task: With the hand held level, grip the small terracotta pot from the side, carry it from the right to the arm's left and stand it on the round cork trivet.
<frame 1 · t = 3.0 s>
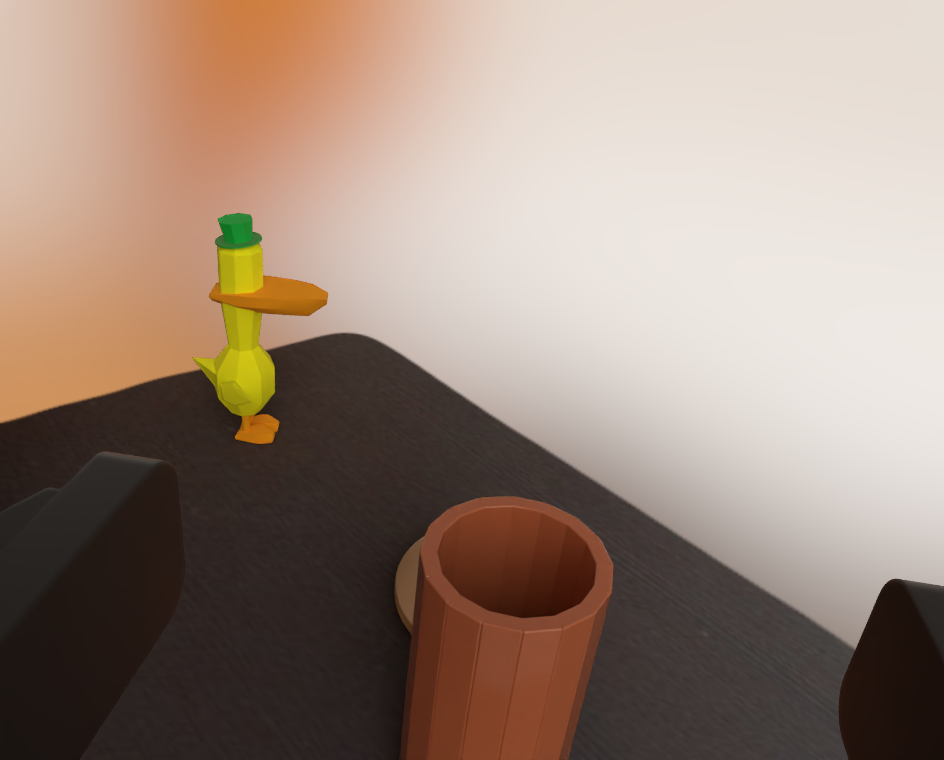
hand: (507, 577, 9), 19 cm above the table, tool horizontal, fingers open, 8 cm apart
trivet: (491, 595, 35), on the table
toy figure: (260, 437, 44), on the table
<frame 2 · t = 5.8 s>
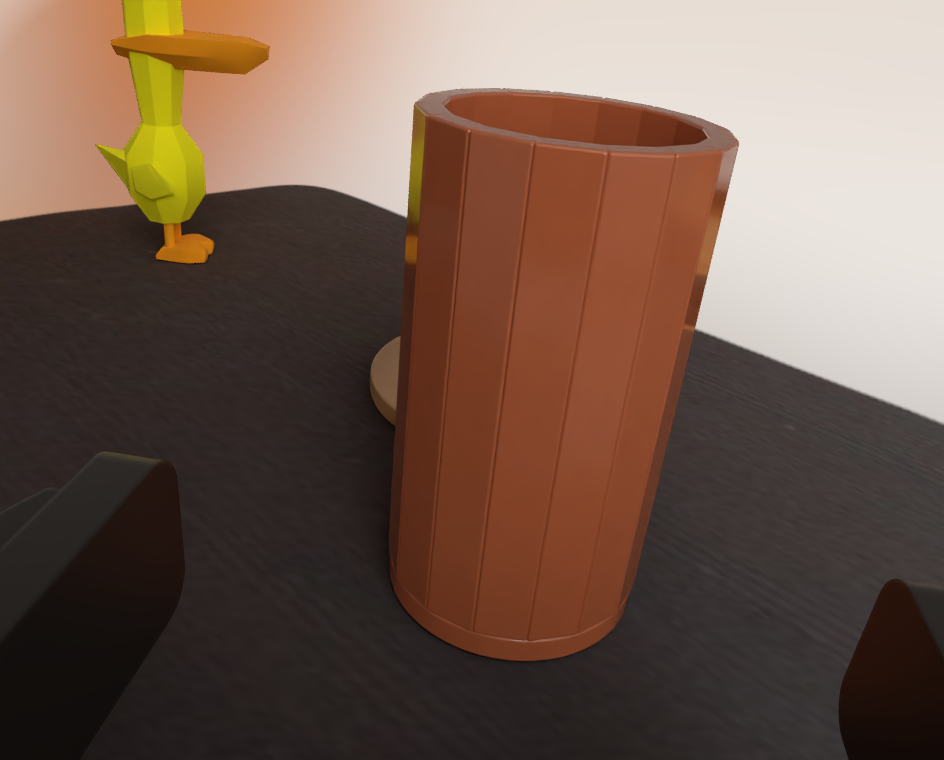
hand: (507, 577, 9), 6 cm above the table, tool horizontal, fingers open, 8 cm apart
pot: (508, 571, 19), on the table
trivet: (501, 391, 26), on the table
toy figure: (190, 260, 34), on the table
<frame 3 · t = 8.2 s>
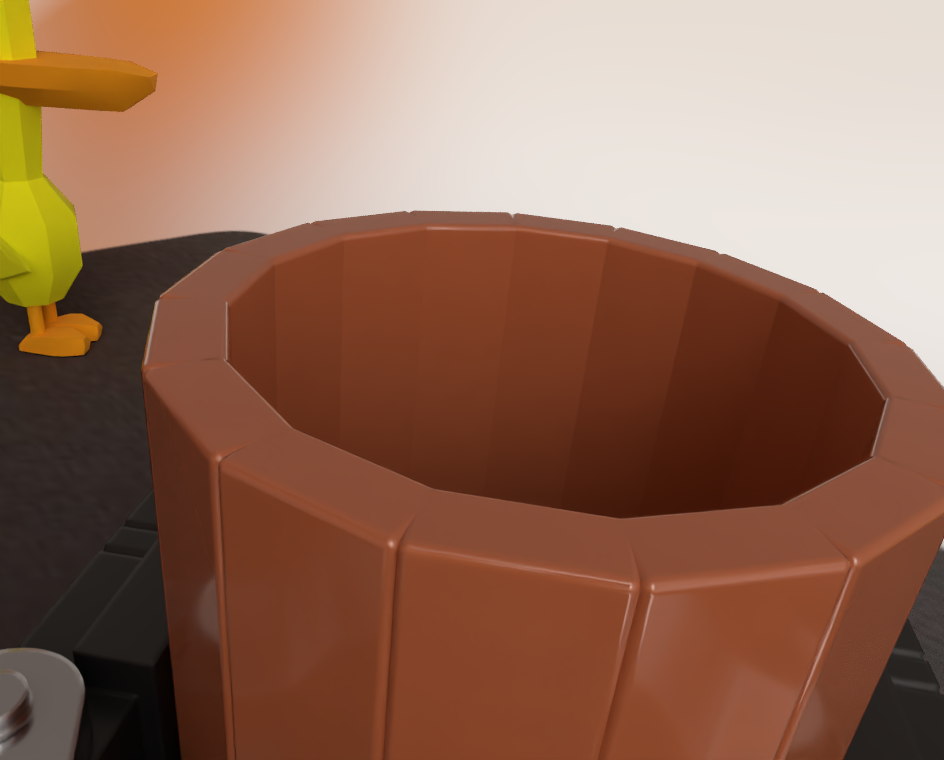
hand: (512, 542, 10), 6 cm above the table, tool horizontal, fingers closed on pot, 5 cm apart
toy figure: (68, 349, 26), on the table
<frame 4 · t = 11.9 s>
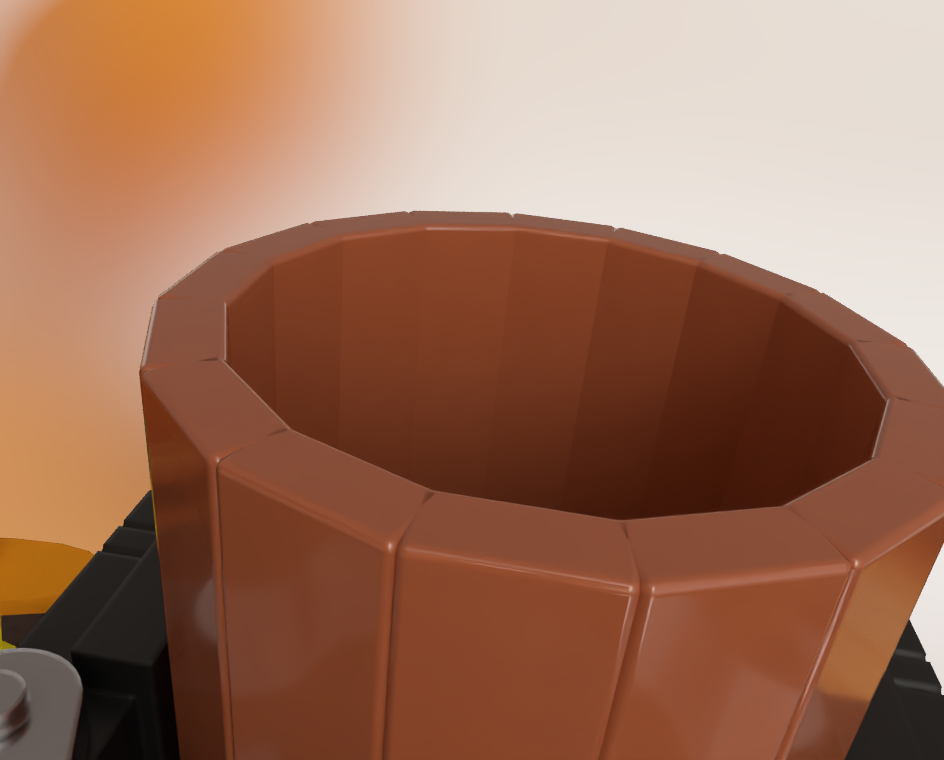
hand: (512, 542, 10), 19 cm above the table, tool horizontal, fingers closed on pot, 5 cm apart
when the fingers open (7 cm above the table, at t = 15.8 s): pot stays where it is, resting on trivet.
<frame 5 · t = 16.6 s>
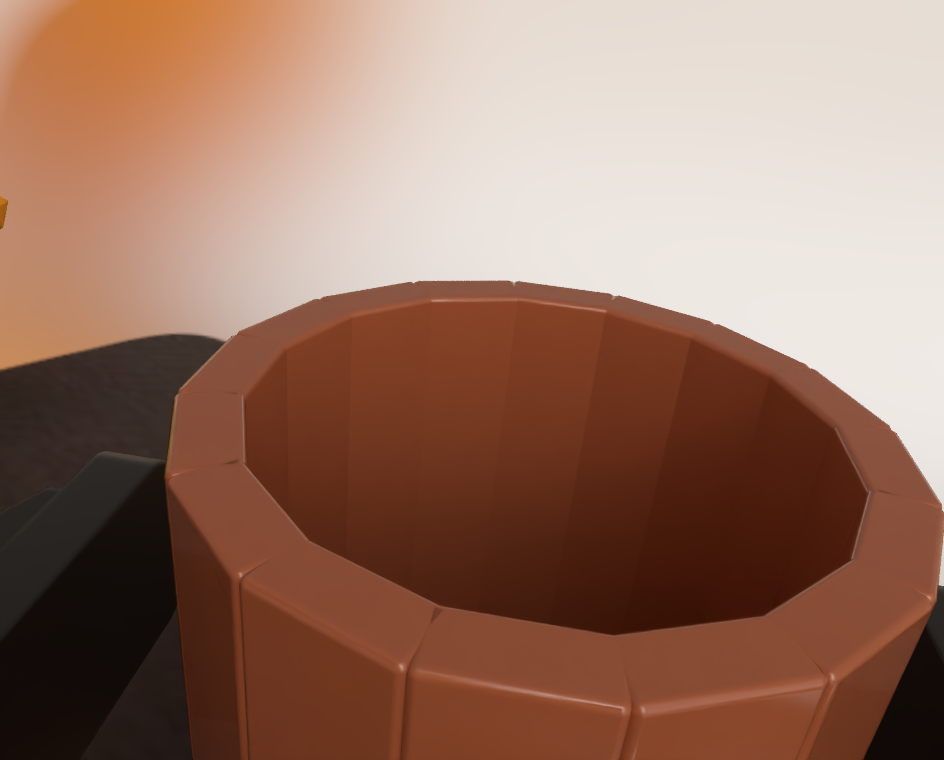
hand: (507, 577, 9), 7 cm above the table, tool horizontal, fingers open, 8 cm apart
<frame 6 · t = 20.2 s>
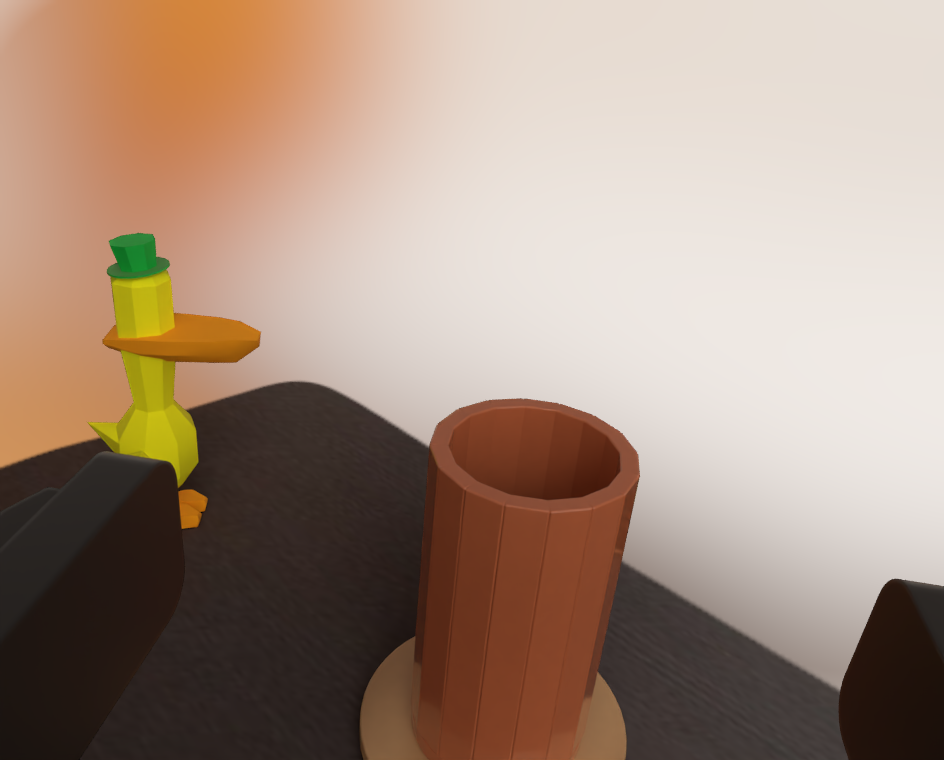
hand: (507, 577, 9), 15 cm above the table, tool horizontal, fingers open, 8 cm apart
pot: (496, 717, 26), point 1 cm above the table, touching trivet
trivet: (491, 728, 26), on the table
toy figure: (183, 519, 34), on the table
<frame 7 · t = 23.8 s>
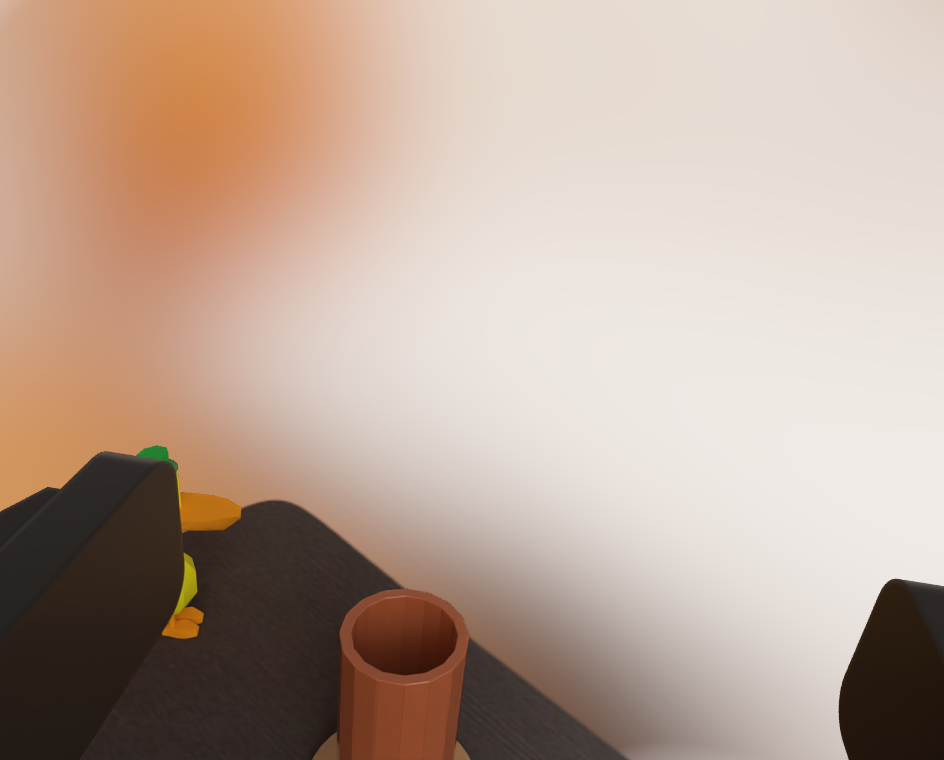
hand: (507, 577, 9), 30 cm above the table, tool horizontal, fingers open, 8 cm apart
toy figure: (186, 629, 48), on the table
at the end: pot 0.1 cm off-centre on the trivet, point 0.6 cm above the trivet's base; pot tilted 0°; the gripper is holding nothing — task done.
